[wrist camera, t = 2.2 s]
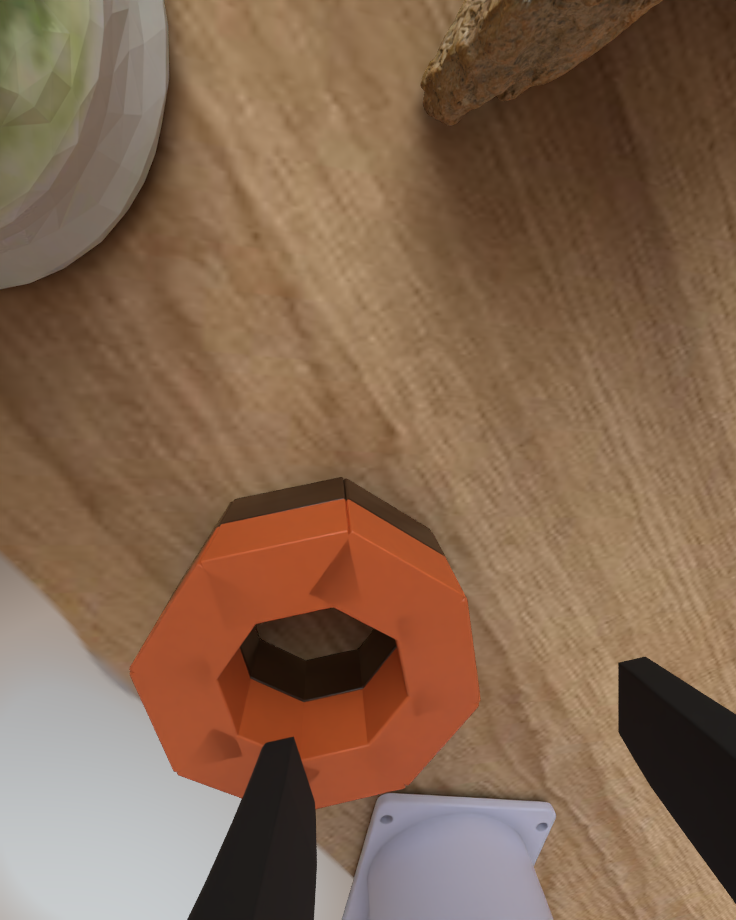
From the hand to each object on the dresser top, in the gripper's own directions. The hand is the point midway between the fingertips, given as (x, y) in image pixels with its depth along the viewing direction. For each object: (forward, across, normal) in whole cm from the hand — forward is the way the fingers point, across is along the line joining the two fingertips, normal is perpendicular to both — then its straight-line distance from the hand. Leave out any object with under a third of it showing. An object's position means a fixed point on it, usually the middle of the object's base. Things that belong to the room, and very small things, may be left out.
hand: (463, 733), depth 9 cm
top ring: (+4, +3, 0) cm, 5 cm away
